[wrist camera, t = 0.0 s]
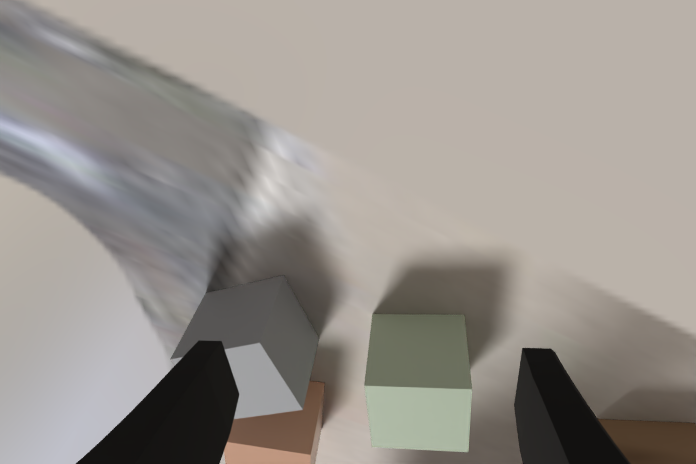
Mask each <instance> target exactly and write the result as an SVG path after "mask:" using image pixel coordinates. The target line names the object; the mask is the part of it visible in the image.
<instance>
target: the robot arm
mask: <svg viewBox="0 0 696 464" xmlns="http://www.w3.org/2000/svg"><path fill="white" fill-rule="evenodd" d="M238 399H239V391H238V388H237V385H236V382H235V379H234V376H233V373H232V370H231V367H230V364H229V361H228V358H227V355H226V352H225V349H224V346H223V343H222V341H203V340H199V341H198V342H197V343H196V344H195V345H194V346H193V347H192V348H191V349H190V350H189V351H188V352H187V353H186V354H185V355H184V356H183V357H182V359H181V360H180V361H179V362H178V363H177V364H176V365H175V366H174V367H173V368H172V369H171V370H170V372H169V373H168V374H167V375H166V376H165V377H164V378H163V379H162V380H161V381H160V382H159V383H158V384H157V386H156V387H155V388H154V389H153V390H152V391H151V392H150V393H149V394H148V395H147V396H146V397H145V398H144V399H143V400H142V401H141V402H140V403H139V404H138V405H137V406H136V407H135V408H134V409H133V410H132V411H131V412H130V413H129V414H128V415H127V416H126V418H124V419H123V420H122V421H121V422H120V423H119V424H118V425H117V426H116V427H115V428H114V429H113V430H112V431H111V432H110V433H109V434H108V435H107V436H106V437H105V438H104V439H103V440H102V441H100V442H99V443H98V444H97V445H96V446H95V447H94V448H93V449H92V450H91V451H90V452H89V453H87V454H86V455H85V456H84V457H83V458H82V459H81V460H79V461H78V462H77V463H76V464H219V463H220V460H221V458H222V455H223V452H224V449H225V447H226V444H227V441H228V438H229V435H230V432H231V428H232V424H233V420H234V416H235V412H236V408H237V403H238ZM514 407H515V416H516V424H517V432H518V439H519V446H520V452H521V456H522V461H523V464H631V463H630V462H629V461H628V460H627V458H626V457H625V456H624V454H623V453H622V452H621V450H620V449H619V448H618V446H617V445H616V444H615V443H614V441H613V440H612V438H611V437H610V436H609V434H608V433H607V431H606V430H605V429H604V427H603V426H602V424H601V423H600V422H599V420H598V419H597V418H596V416H595V415H594V413H593V412H592V410H591V409H590V407H589V406H588V405H587V403H586V402H585V400H584V399H583V397H582V395H581V394H580V392H579V391H578V389H577V388H576V386H575V385H574V383H573V382H572V380H571V378H570V377H569V375H568V374H567V372H566V370H565V369H564V367H563V365H562V364H561V362H560V360H559V358H558V357H557V355H556V353H555V352H554V351H553V350H552V349H542V348H522V355H521V362H520V369H519V376H518V383H517V390H516V397H515V404H514Z"/></svg>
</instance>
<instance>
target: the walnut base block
mask: <svg viewBox="0 0 696 464" xmlns="http://www.w3.org/2000/svg"><path fill="white" fill-rule="evenodd" d="M598 420H599V422H600V423H601V424H602V426H603V427H604V429H605V430H606V431H607V433H608V434H609V436H610V437H611V438H612V440H613V441H614V443H615V444H616V445H617V446H618V448H619V449H620V450H621V452H622V453H623V454H624V456H625V457H626V458H627V460H628V461H629V462H630V463H631V464H696V424H695V423H682V422H658V421H633V420H609V419H598Z"/></svg>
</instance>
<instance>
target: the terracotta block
mask: <svg viewBox="0 0 696 464" xmlns="http://www.w3.org/2000/svg"><path fill="white" fill-rule="evenodd" d="M324 387H325V383H322V382H315V381H309V385H308V390H307V394H306V398H305V403H304V407H303V410H298V411H291V412H283V413H276V414H269V415H261V416H254V417H247V418H239V419H234V420H233V424H232V428H231V432H230V435H229V438H228V441H227V444H226V447H225V449H224V454H225V462H226V464H315V462H316V456H317V451H318V445H319V440H320V434H321V428H322V414H323V401H324Z"/></svg>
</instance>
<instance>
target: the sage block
mask: <svg viewBox="0 0 696 464" xmlns="http://www.w3.org/2000/svg"><path fill="white" fill-rule="evenodd" d="M364 387H365V395H366V403H367V411H368V419H369V427H370V435H371V443H372V447H378V448H397V449H416V450H435V451H453V452H468V449H469V433H470V416H471V400H472V383H471V374H470V364H469V354H468V345H467V335H466V326H465V316H464V315H433V314H373V315H372V323H371V332H370V341H369V350H368V358H367V367H366V376H365V385H364Z"/></svg>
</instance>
